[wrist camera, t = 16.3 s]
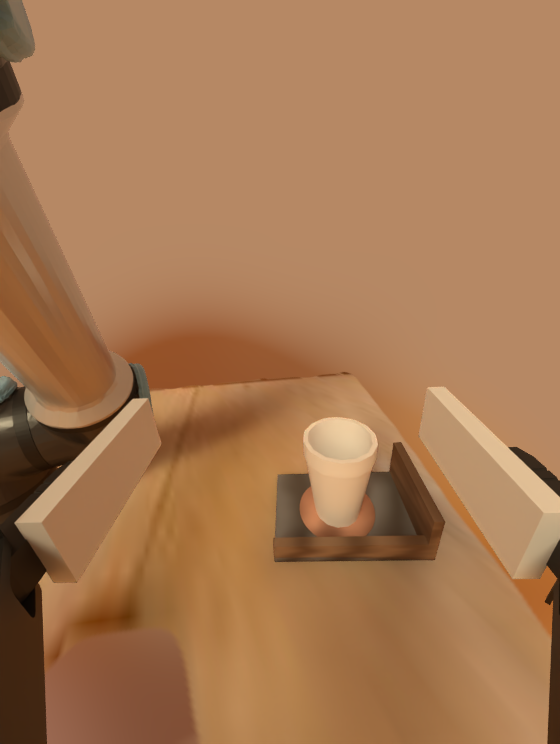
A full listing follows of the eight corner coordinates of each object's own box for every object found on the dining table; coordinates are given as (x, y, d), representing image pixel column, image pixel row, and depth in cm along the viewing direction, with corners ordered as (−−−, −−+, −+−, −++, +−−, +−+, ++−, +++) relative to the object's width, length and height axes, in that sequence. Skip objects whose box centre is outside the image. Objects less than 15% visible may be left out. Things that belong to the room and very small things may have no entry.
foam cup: (355, 551, 37) (361, 475, 31) (293, 518, 42) (289, 446, 36) (378, 498, 44) (386, 429, 38) (323, 475, 49) (323, 410, 43)
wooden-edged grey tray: (274, 561, 37) (270, 525, 34) (278, 478, 50) (275, 446, 47) (434, 559, 36) (445, 521, 33) (396, 475, 49) (401, 442, 46)
